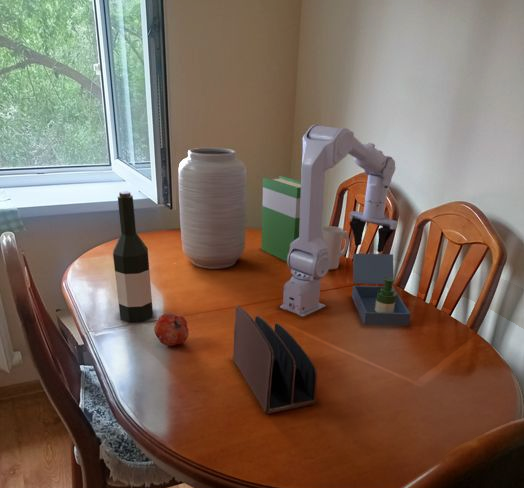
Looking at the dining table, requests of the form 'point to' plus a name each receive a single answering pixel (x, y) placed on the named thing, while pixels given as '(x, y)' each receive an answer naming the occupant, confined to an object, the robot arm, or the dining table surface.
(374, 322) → the tray
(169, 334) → the pomegranate
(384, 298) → the bottle
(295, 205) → the hardback book
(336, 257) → the mug
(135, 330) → the dining table surface
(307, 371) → the letter holder
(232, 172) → the vase
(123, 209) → the wine bottle
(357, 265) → the flap
